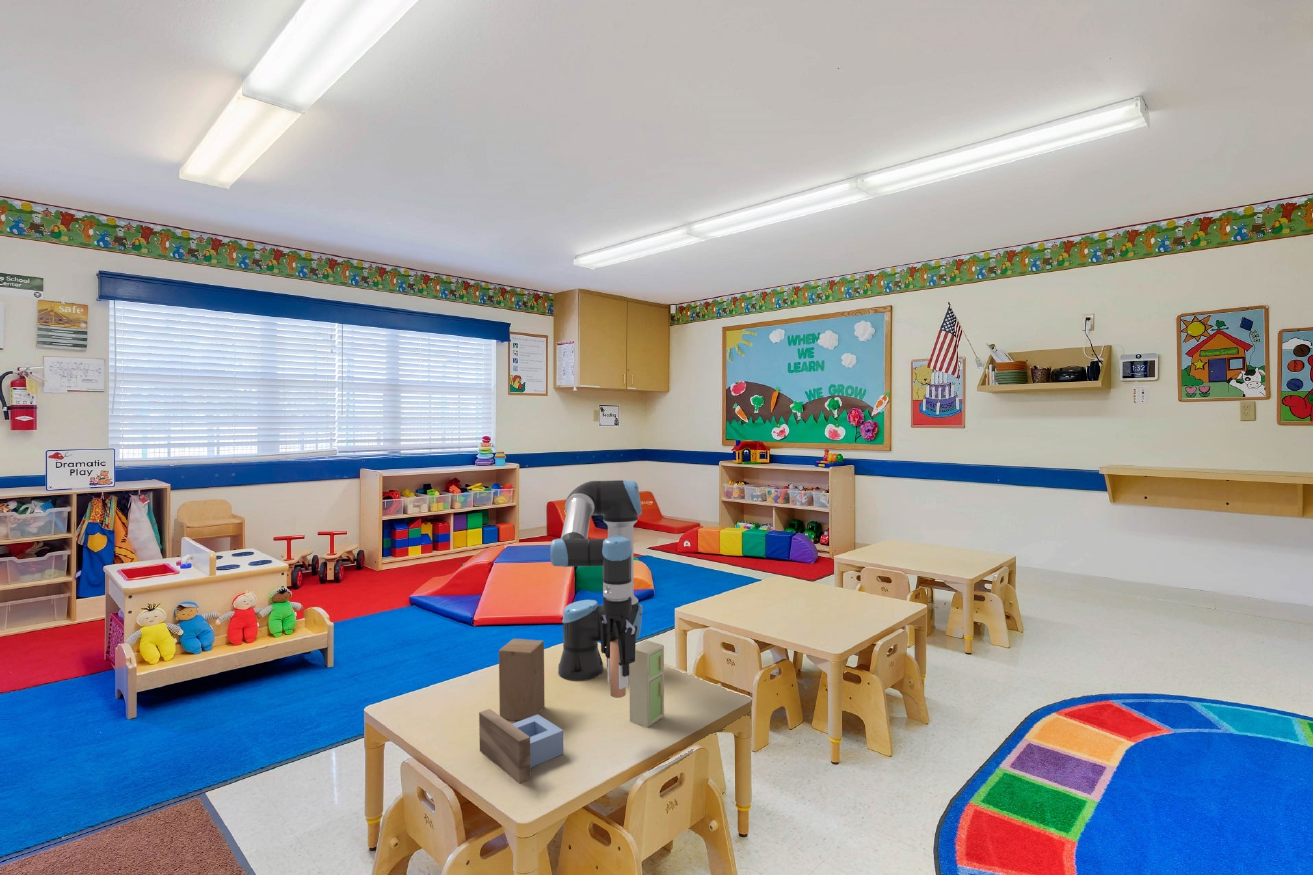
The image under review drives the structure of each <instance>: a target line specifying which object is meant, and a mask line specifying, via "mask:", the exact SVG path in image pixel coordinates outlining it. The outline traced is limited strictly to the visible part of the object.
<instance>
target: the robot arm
mask: <svg viewBox="0 0 1313 875" xmlns="http://www.w3.org/2000/svg"><path fill="white" fill-rule="evenodd" d="M564 510H565V513H566V514H565V517H564V523H563V527H562V532H561V536H560V538H556V539H553V540H552V541H551V543H550V553H549V554H550V563H551V565H552V566H554V567H564V568H567V567H569V568H571V567H602V584H603V585H602V587H603V588H602V590H603V591H602V592H603V593H602V595H603V599H602V605H599V603H598V601H597V600H595V599H584V600H582V599H581V600H578V601H574V602H571V603H569V604H568V605H566V606H565V607H564V609H563V612H562V614H563V616H562V617H563V618H562V628H563V631H562V632H563V634H562V636H563V637H562V638H563V639H562V642H563V644H562V647H563V649H562V653H561V657H560V659H559V660H560V661H559V663H558V667H557V669H558V675H559V676H560V677H561V678H563V679H565V680H571V681H586V680H591V679H595V678H597V677H599V676H601V675H602V674H603V672H604V663H603V660H602V656H601V654H604V657H606V668H607V683H608V684H609V685H610V641H613V640H616V639H618V646H619V653H620V661H621V662H620V663H619V689H622V688H625V687H626V688H629V677H630V674H629V664H630V663H633V662H635V646H636V645H637V644H636V642H637V641H636V640H638V638H640V634H641V628H642V621H643V619H642V618H643V605H642V604H639V598H637V597H636V596H635V595H634V590H635V589H634V587H635V586H634V585H635V582H634V578H635V577H634V574H635V573H634V569H635V568H634V566H635V564H634V525H635V524H636V523H637V522H638V520H639V519H638V518H639V516H641V515H642V514H643V512H642V504H641V497H640V491H639V484H638V483H637V481H634V480H627V479H626V480H624V479H623V480H622V479H618V480H615V479H614V480H590V481H587V482H586V481H585V482H584V483H582V484H580V485H579V486H577V487H575V488H574V489H573V490H572V491H571V492H570V493H569V494H568V496H567V498H566V501H565V502H564ZM593 516H602V518H603V520H602V521H603V522H604V523H605V524H606V525H607V538H603V537H602V538H588V537H589V529H590V522H591V517H593ZM599 642H600V650H599ZM600 652H601V653H600Z"/></svg>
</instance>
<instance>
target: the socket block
mask: <svg viewBox="0 0 1313 875" xmlns="http://www.w3.org/2000/svg"><path fill="white" fill-rule="evenodd" d="M511 724H512V725H514V726H515V727H516V728H518V729H519V730H521V731H522V732H524V733H525V734H526V735H528V736H529V737H530V769H532V768H533V767H535V766H538V765H539V764H543V763H545V762H547V761H549V760H552V759H553V758H554V759H555V758H556V757H558V756H561V755H564V729H561V727H559V726H557V725H556V724H554V723H553V722H551V721H550V720H548V719H546V718H544V717H543V716H541V715H540V714H537V715H535V716H532V717H529V718H527V719H524V720H521V721H516V722H514V723H511Z"/></svg>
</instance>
